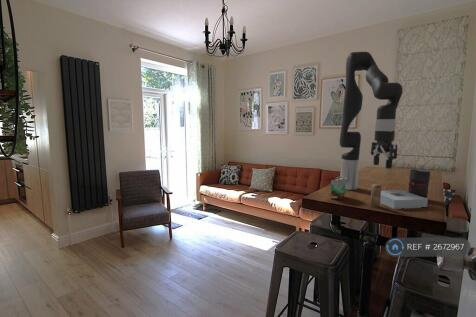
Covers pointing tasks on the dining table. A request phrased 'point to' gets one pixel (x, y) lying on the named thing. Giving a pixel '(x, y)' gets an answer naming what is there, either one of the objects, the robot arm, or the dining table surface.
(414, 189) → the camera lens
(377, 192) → the peg
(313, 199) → the dining table surface
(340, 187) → the food container
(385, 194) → the socket board
